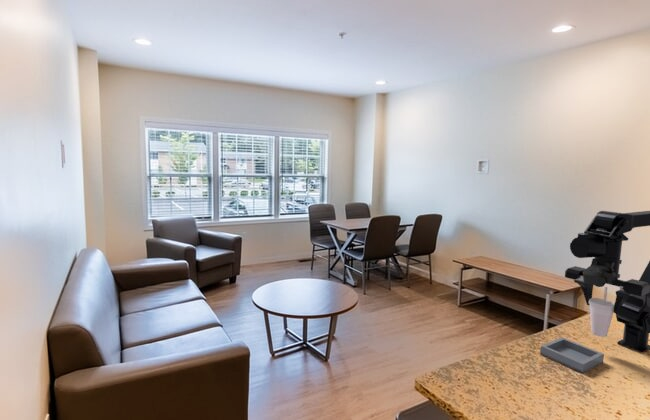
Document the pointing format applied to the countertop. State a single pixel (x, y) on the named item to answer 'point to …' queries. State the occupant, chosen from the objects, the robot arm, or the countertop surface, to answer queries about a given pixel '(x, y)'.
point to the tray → (572, 354)
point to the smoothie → (601, 315)
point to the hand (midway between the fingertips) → (601, 308)
